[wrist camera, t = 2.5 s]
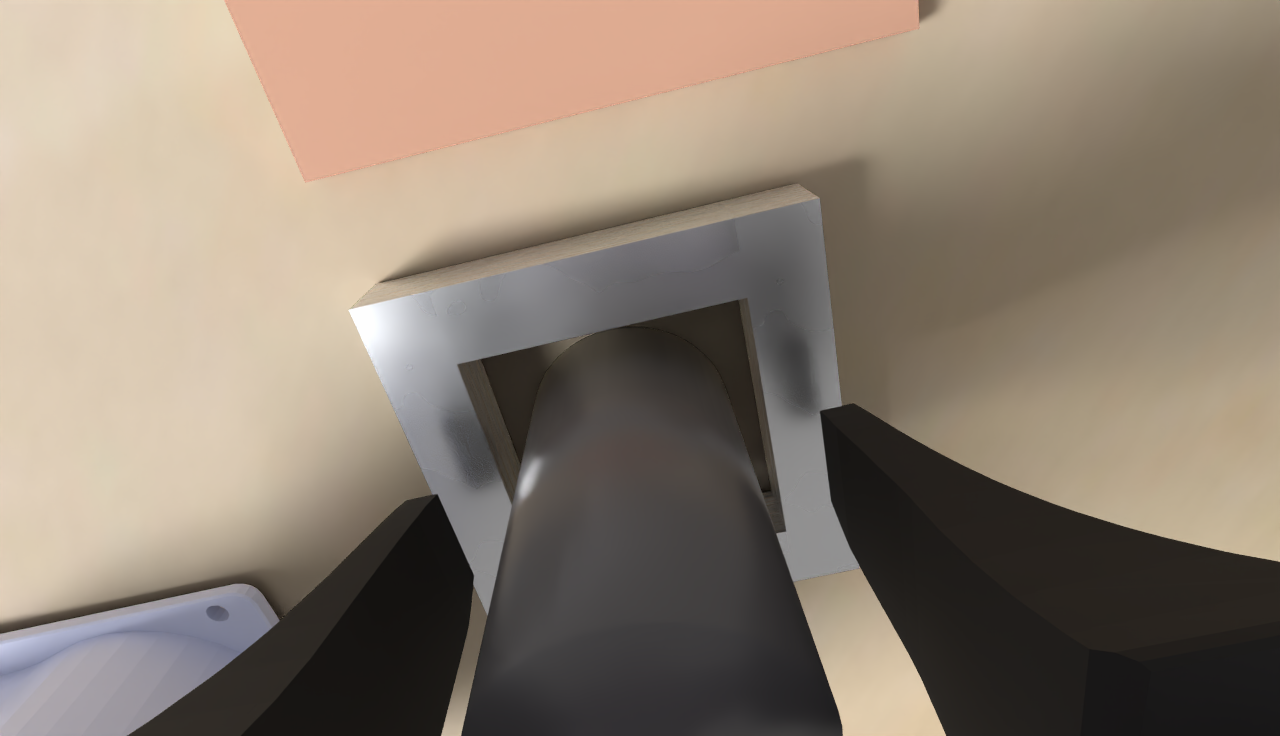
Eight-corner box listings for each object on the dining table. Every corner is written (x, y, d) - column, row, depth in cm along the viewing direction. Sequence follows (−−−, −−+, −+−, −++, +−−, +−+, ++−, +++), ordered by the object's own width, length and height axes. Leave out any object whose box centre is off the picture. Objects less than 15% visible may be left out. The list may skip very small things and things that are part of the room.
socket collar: (507, 594, 17) (498, 641, 15) (375, 284, 13) (348, 309, 12) (838, 525, 16) (859, 568, 15) (796, 183, 13) (819, 197, 11)
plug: (564, 513, 16) (526, 896, 9) (508, 352, 14) (397, 669, 7) (742, 475, 16) (857, 837, 8) (709, 306, 14) (821, 584, 6)
